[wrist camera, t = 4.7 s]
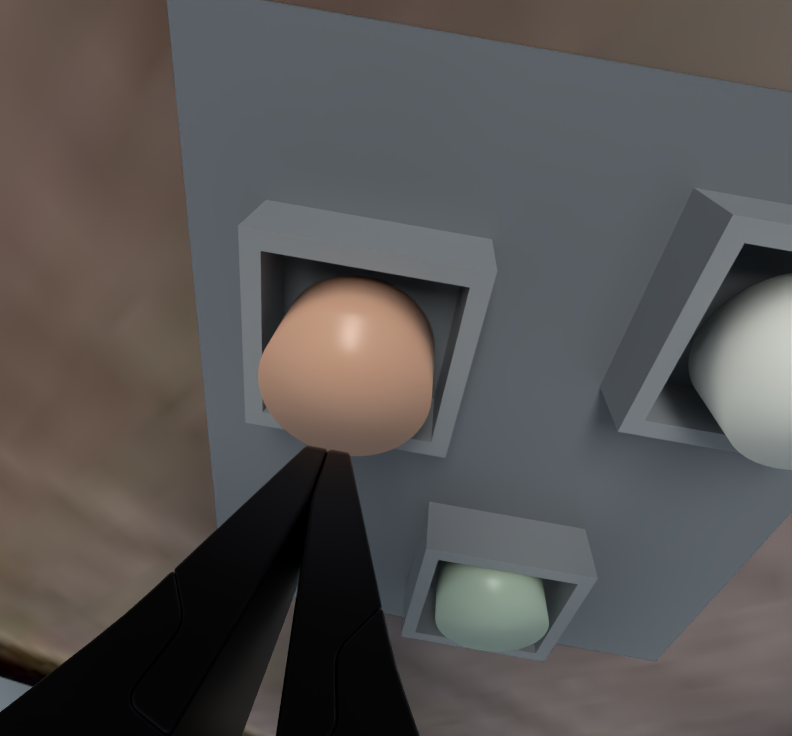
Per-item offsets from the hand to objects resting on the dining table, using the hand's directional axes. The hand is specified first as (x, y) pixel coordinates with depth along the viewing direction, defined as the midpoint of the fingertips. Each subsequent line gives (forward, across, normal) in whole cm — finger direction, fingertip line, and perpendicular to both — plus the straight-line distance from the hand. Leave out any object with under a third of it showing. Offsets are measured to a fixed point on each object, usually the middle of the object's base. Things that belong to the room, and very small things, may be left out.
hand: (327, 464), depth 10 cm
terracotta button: (+4, 0, 0) cm, 4 cm away
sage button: (+5, -6, +10) cm, 13 cm away
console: (+8, -5, +4) cm, 10 cm away
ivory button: (+4, -10, -2) cm, 11 cm away
